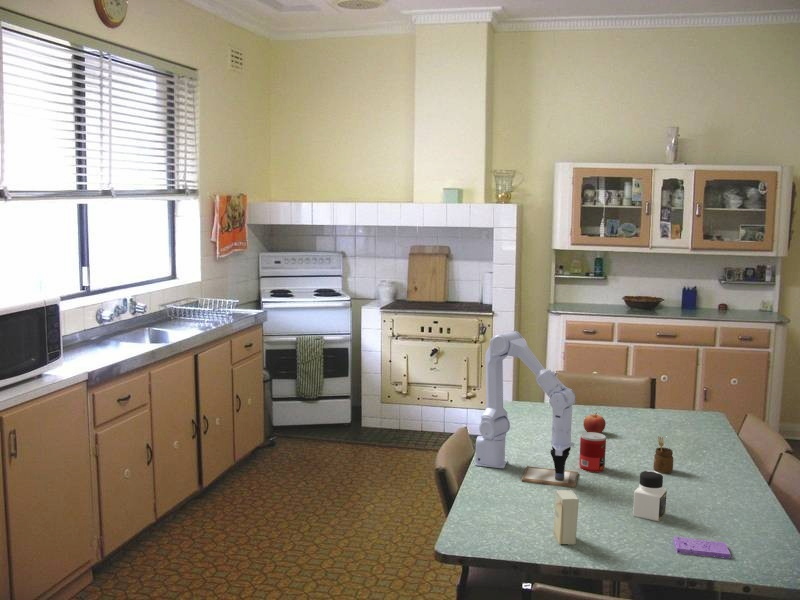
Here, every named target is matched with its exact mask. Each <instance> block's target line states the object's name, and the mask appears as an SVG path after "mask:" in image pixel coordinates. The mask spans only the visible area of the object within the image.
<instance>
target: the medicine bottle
mask: <svg viewBox="0 0 800 600" xmlns="http://www.w3.org/2000/svg"><path fill="white" fill-rule="evenodd" d="M663 481H664V475H663V473H659V472H656V471H655V470H643V471H641V472H640V473H639V484H638V485H639V486H638V487H637V488H636V489H635V490H634V492H633V509H632V515H633V517H637V518H641V519H645V520H650V521H654V522H659V521H661V520H662V518H663V516H665V514H666V510H667V509H666V505H667V489H666V488H663V484H664V483H663Z"/></svg>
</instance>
